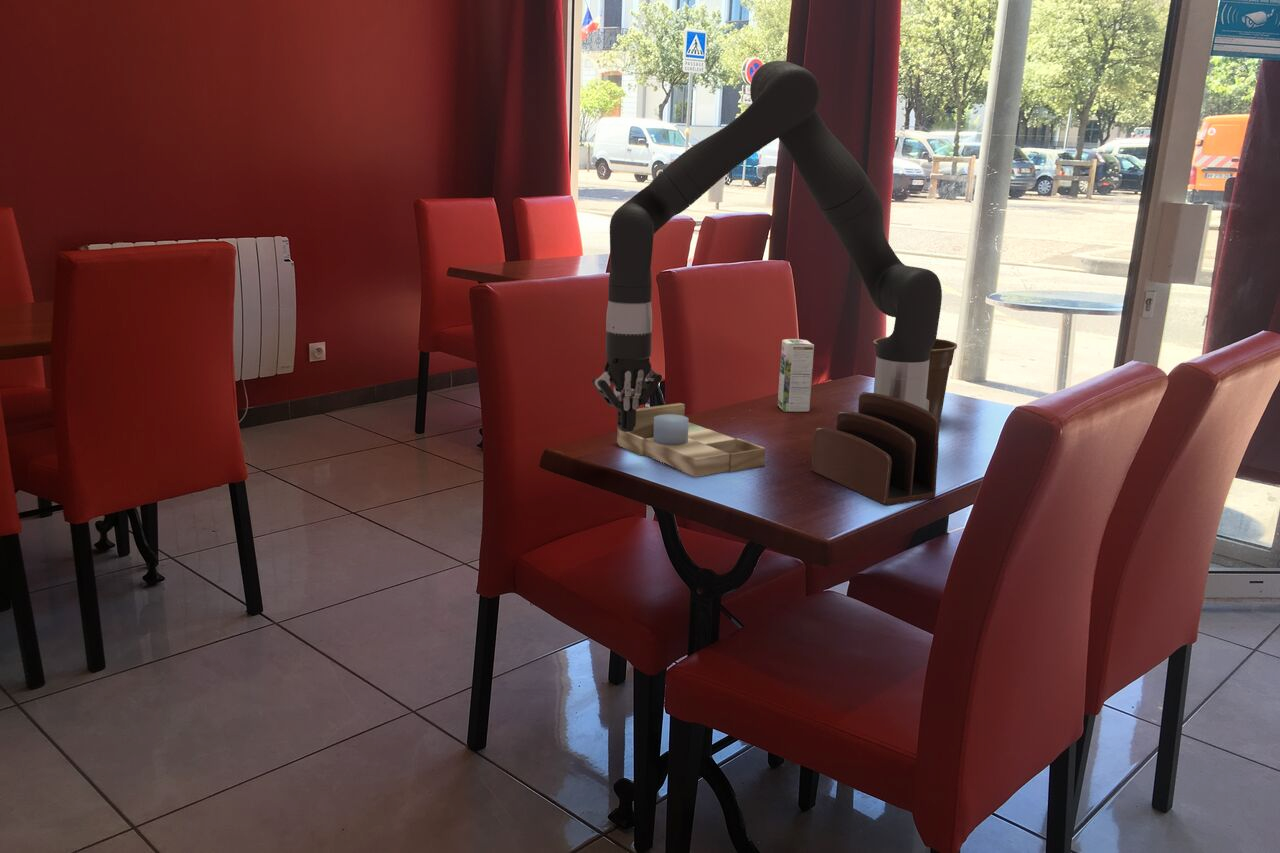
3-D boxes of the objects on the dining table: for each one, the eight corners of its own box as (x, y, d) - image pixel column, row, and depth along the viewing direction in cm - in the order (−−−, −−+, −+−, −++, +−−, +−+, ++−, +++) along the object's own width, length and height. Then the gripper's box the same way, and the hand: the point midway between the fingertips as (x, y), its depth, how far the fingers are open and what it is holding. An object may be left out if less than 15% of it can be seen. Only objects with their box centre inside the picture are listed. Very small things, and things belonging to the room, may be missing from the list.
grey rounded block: (674, 434, 184) (675, 412, 183) (694, 442, 180) (695, 420, 179) (646, 439, 181) (647, 416, 180) (666, 447, 176) (667, 424, 175)
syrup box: (776, 406, 221) (780, 338, 217) (803, 405, 221) (807, 338, 218) (783, 412, 215) (787, 343, 212) (810, 412, 216) (815, 343, 212)
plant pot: (852, 420, 210) (858, 341, 206) (890, 407, 222) (896, 332, 218) (927, 435, 200) (935, 352, 196) (962, 420, 212) (970, 342, 208)
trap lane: (765, 465, 178) (767, 431, 176) (694, 478, 169) (695, 443, 168) (681, 433, 197) (682, 402, 196) (614, 443, 189) (614, 411, 188)
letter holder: (857, 465, 179) (863, 385, 176) (936, 499, 162) (944, 411, 158) (810, 471, 175) (815, 390, 171) (885, 507, 158) (892, 417, 154)
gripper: (606, 334, 163) (604, 440, 168) (674, 329, 171) (671, 431, 175) (582, 327, 169) (581, 430, 174) (649, 323, 177) (646, 421, 181)
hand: (626, 430), depth 174 cm, fingers closed
